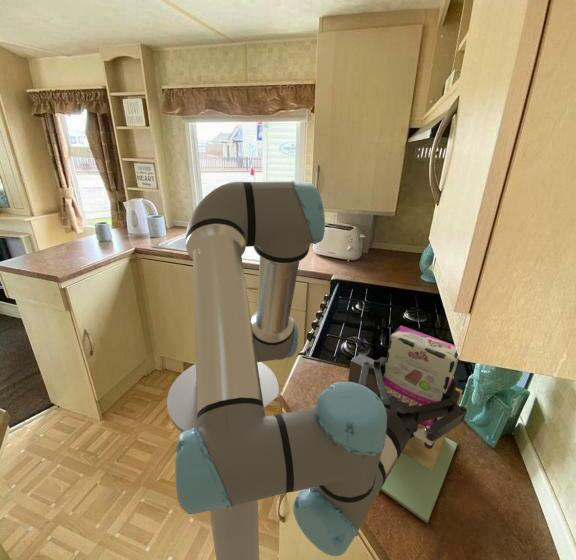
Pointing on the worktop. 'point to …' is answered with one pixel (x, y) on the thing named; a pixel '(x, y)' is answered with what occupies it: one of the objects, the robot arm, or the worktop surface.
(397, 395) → the candy bar box
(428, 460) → the cardboard box
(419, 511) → the sage board
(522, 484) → the worktop surface
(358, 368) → the grey box
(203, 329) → the robot arm
